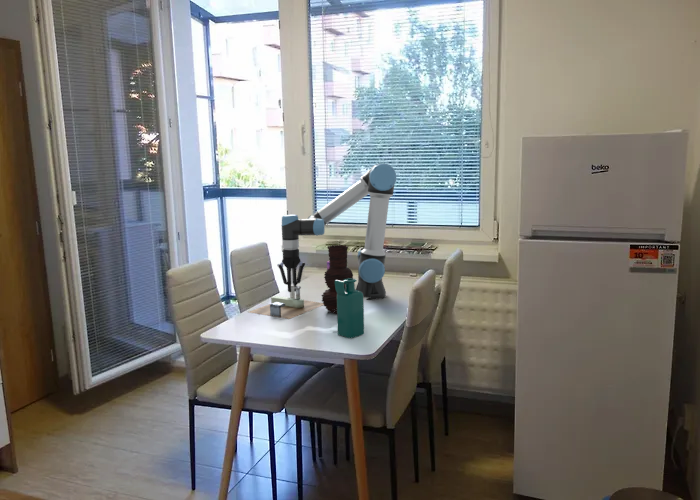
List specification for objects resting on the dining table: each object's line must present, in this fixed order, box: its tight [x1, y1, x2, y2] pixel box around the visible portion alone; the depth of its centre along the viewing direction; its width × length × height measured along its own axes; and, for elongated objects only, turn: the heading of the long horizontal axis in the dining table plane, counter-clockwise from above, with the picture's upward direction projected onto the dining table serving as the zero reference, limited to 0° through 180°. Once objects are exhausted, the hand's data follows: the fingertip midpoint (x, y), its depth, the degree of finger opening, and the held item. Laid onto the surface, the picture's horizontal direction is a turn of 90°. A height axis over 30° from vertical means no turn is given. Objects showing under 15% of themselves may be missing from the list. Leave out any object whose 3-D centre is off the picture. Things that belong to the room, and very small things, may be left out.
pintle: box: [295, 285, 302, 300], centre depth 250 cm, size 3×3×6 cm
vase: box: [321, 244, 354, 315], centre depth 241 cm, size 15×15×30 cm
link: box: [270, 295, 305, 308], centre depth 254 cm, size 17×5×3 cm, turn 58°
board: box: [248, 299, 324, 320], centre depth 250 cm, size 23×28×2 cm
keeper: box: [270, 302, 285, 318], centre depth 238 cm, size 5×4×5 cm
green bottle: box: [335, 277, 365, 339], centre depth 213 cm, size 10×8×22 cm
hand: (292, 298), depth 260 cm, fingers closed
